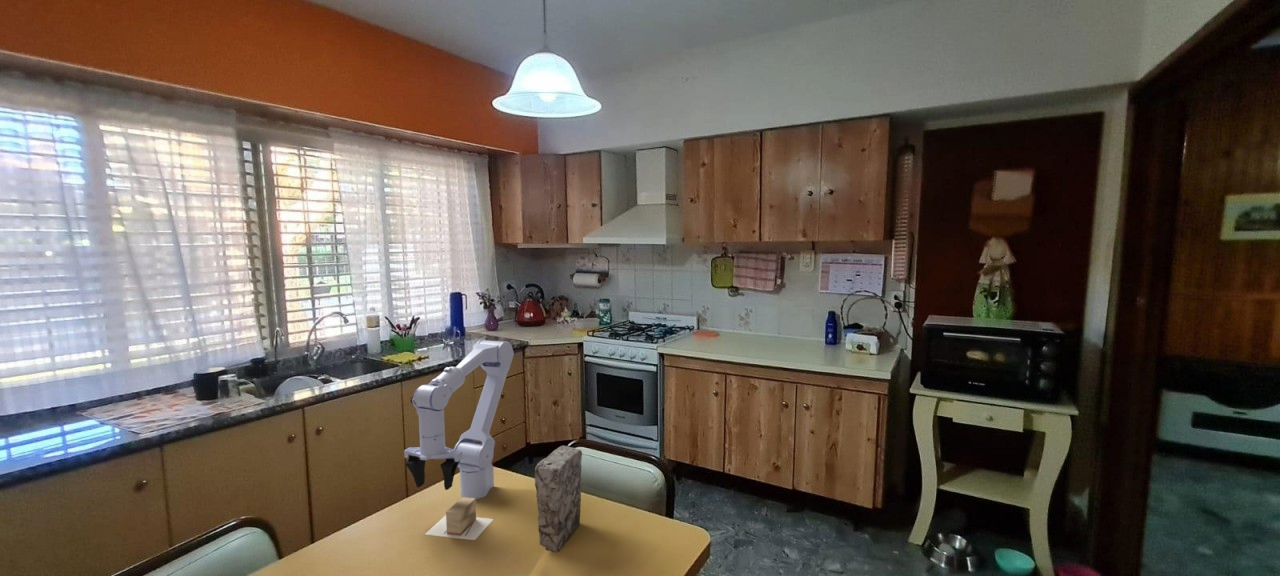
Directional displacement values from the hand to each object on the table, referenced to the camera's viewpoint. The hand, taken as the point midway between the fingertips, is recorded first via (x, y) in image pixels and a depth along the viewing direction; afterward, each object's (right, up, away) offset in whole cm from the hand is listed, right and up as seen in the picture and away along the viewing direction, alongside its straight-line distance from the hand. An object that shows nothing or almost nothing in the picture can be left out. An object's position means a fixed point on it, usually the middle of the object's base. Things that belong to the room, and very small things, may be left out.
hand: (434, 486), depth 119 cm
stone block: (+32, -10, -4) cm, 34 cm away
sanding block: (+8, -9, -2) cm, 12 cm away
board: (+7, -10, -2) cm, 13 cm away
